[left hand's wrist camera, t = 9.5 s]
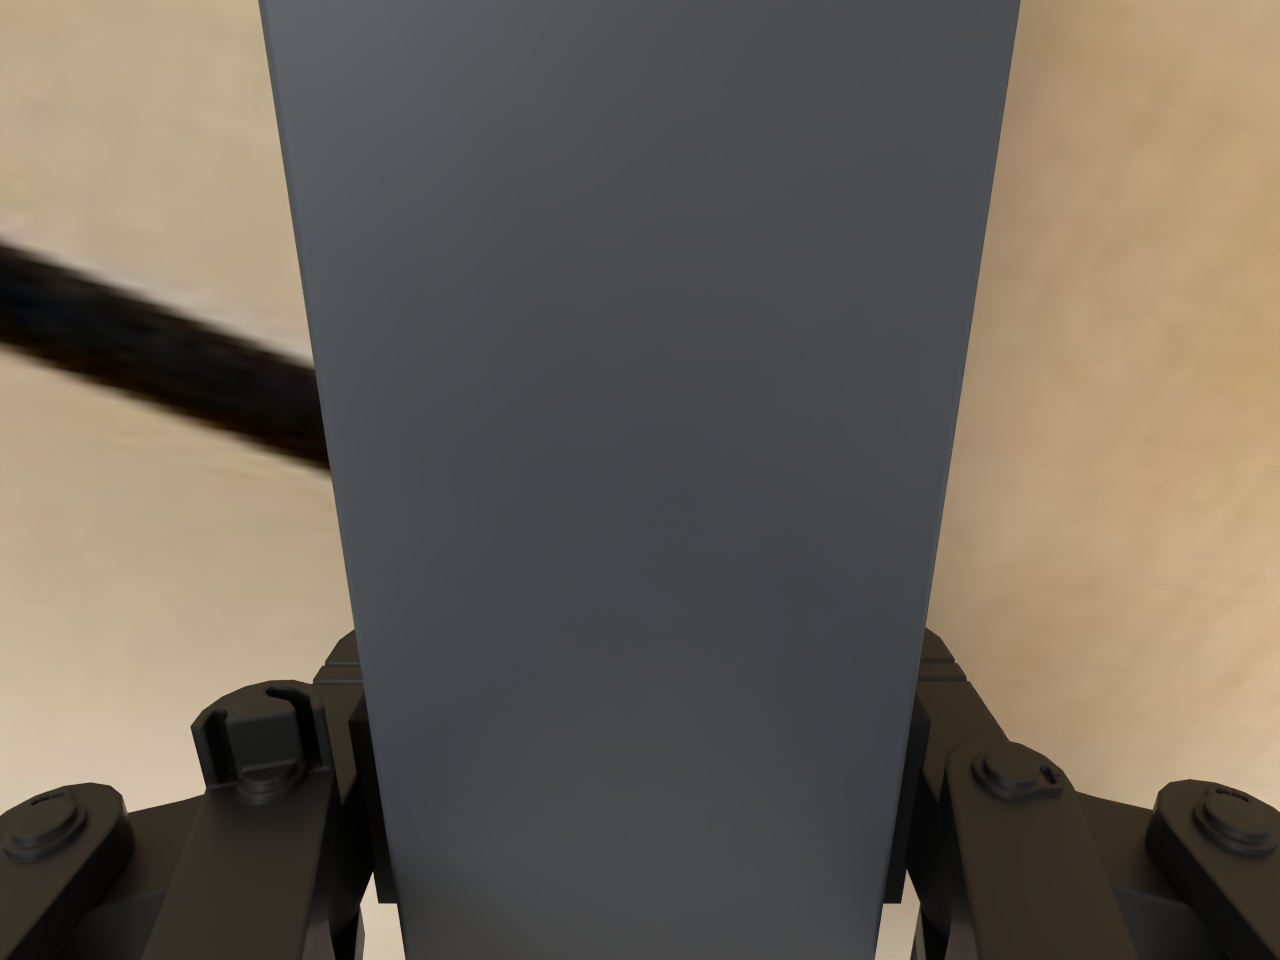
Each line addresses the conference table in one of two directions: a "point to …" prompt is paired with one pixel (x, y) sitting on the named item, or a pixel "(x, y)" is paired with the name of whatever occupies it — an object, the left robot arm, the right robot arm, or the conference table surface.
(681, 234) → the beam
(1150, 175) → the conference table surface
